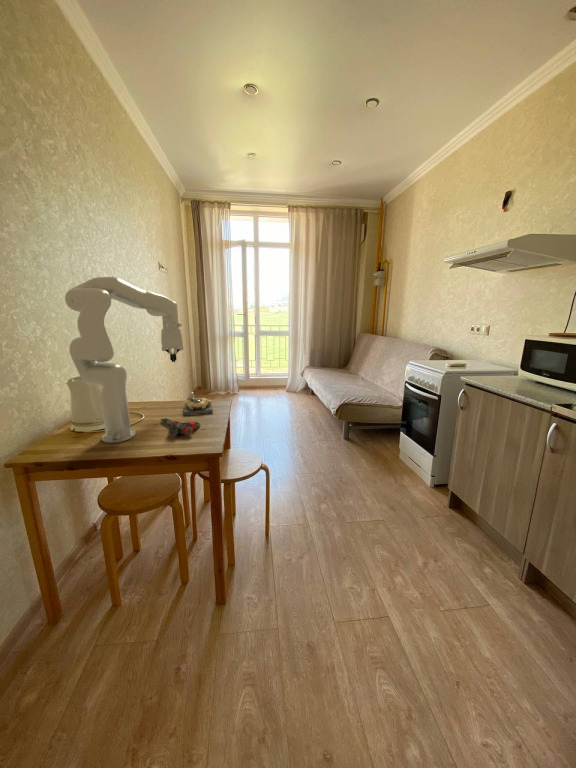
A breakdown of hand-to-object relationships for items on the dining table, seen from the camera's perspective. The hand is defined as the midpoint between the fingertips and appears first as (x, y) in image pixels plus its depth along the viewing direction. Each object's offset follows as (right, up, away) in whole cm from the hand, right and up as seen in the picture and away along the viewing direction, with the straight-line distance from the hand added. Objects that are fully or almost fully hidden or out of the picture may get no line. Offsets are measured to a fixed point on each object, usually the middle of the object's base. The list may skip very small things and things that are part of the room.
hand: (173, 361), depth 159 cm
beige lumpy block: (+12, -24, +3) cm, 27 cm away
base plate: (+12, -25, +3) cm, 28 cm away
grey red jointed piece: (+11, -32, -20) cm, 40 cm away
